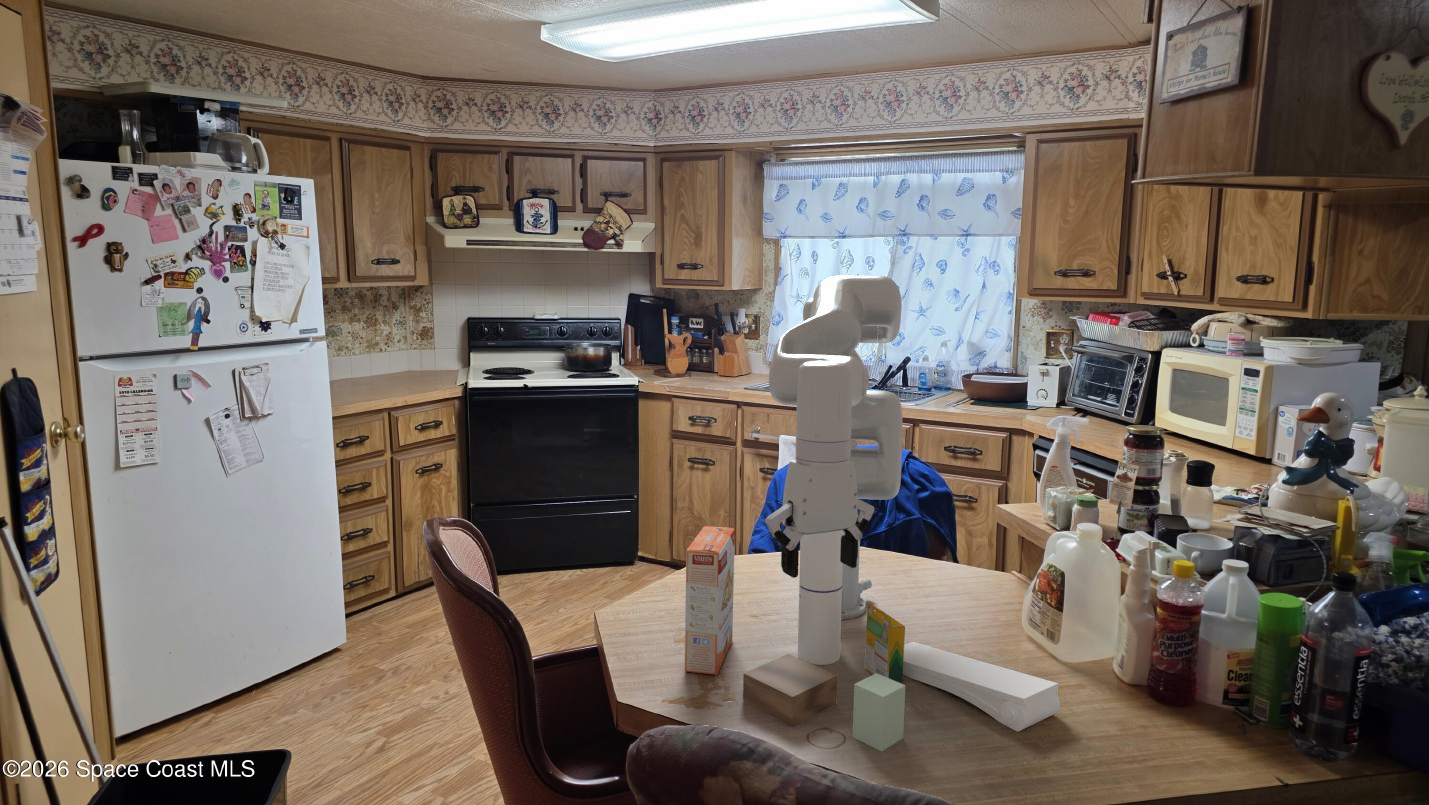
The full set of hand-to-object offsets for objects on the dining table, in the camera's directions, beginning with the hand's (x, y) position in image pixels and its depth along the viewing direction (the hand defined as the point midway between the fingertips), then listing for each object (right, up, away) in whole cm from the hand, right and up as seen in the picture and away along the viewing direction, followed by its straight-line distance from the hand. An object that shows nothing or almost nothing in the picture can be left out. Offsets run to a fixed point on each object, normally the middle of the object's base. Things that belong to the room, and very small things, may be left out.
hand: (819, 569), depth 126 cm
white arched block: (+24, -22, +15) cm, 36 cm away
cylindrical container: (+3, -20, +26) cm, 33 cm away
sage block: (+8, -24, 0) cm, 25 cm away
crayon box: (+13, -21, +19) cm, 31 cm away
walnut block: (-3, -22, +10) cm, 25 cm away
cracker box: (-15, -20, +25) cm, 36 cm away
